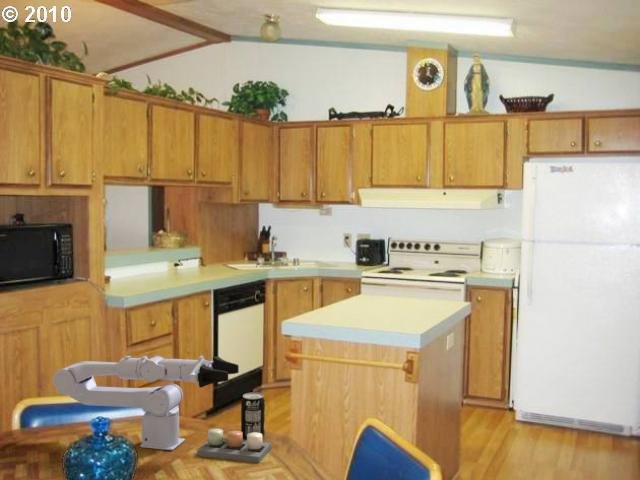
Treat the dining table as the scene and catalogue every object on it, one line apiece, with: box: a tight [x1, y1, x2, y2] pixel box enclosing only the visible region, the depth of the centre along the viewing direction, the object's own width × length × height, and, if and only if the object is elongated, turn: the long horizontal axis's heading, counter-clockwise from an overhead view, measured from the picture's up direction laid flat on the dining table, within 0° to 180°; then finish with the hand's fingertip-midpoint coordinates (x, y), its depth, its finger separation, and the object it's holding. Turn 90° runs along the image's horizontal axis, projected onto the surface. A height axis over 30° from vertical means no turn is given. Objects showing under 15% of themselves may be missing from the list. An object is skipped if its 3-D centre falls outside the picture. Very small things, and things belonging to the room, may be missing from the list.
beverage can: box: [240, 392, 266, 440], centre depth 187 cm, size 7×7×12 cm
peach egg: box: [226, 430, 244, 447], centre depth 176 cm, size 4×4×3 cm
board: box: [196, 437, 272, 464], centre depth 176 cm, size 17×10×2 cm, turn 77°
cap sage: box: [207, 428, 224, 445], centre depth 178 cm, size 4×4×3 cm
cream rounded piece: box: [247, 432, 263, 449], centre depth 175 cm, size 4×4×3 cm
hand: (233, 372), depth 175 cm, fingers open, 7 cm apart
